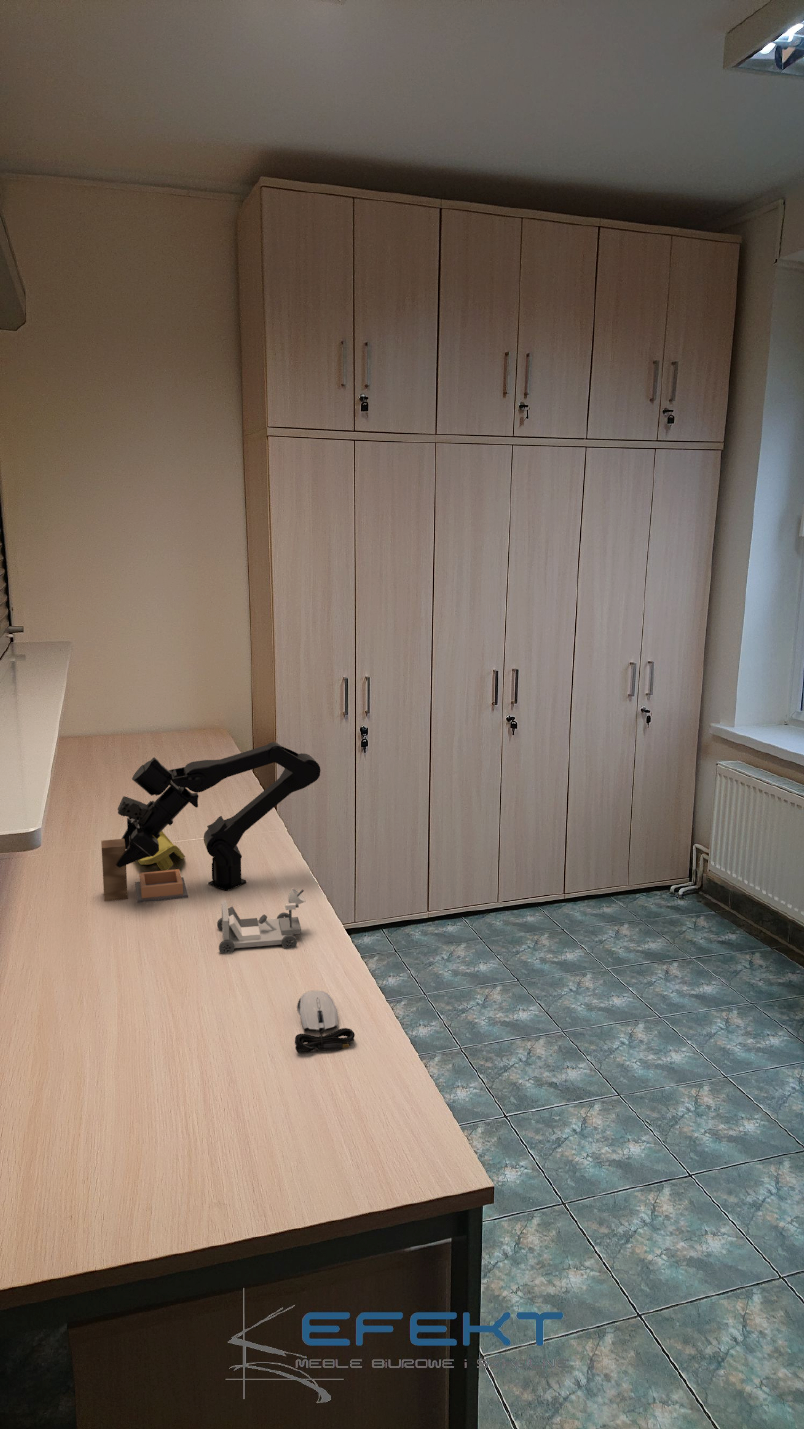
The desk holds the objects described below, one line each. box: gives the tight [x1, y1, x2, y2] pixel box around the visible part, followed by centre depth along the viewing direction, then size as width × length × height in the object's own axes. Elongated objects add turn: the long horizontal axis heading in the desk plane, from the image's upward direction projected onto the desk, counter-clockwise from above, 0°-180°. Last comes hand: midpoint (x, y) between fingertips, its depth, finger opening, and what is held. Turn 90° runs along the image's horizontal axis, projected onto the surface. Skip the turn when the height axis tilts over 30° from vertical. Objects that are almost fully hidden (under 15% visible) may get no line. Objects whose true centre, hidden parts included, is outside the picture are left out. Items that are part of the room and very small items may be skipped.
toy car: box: [216, 887, 306, 954], centre depth 190 cm, size 18×10×12 cm
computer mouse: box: [294, 989, 356, 1054], centre depth 159 cm, size 10×18×4 cm, turn 14°
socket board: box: [134, 868, 189, 904], centre depth 213 cm, size 11×11×3 cm
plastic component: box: [137, 830, 186, 871], centre depth 231 cm, size 20×7×10 cm
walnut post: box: [100, 838, 129, 902], centre depth 209 cm, size 5×5×12 cm
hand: (116, 858), depth 209 cm, fingers open, 9 cm apart
